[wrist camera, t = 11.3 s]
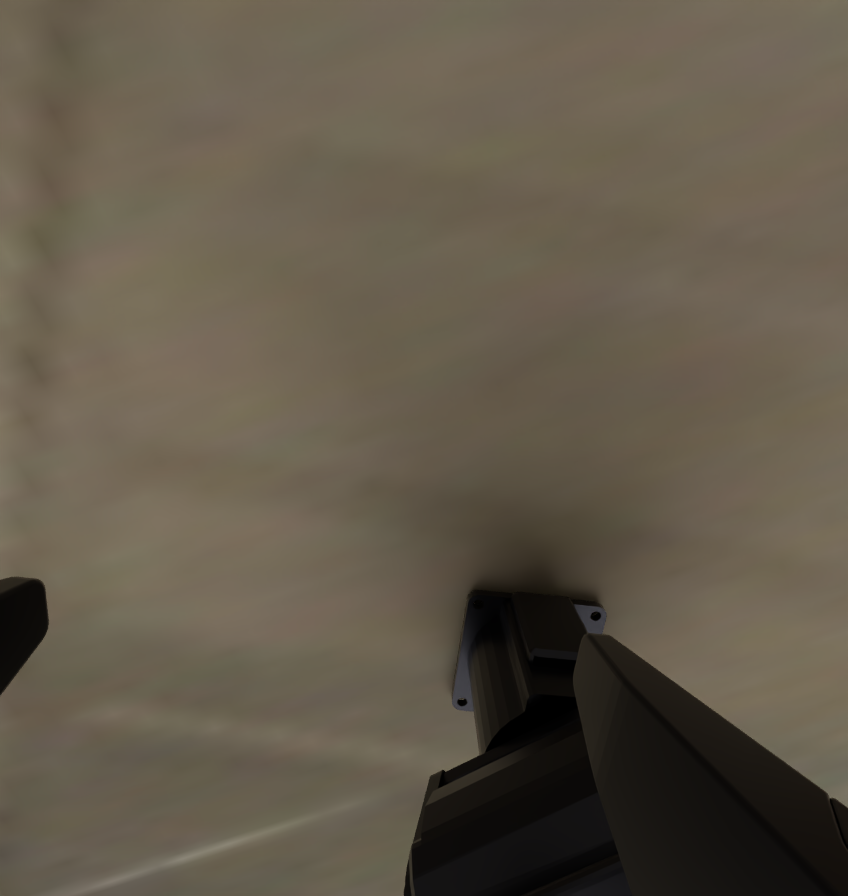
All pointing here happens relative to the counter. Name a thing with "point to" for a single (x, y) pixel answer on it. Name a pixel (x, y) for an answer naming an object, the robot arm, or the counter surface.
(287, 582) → the counter surface
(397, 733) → the counter surface
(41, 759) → the counter surface
